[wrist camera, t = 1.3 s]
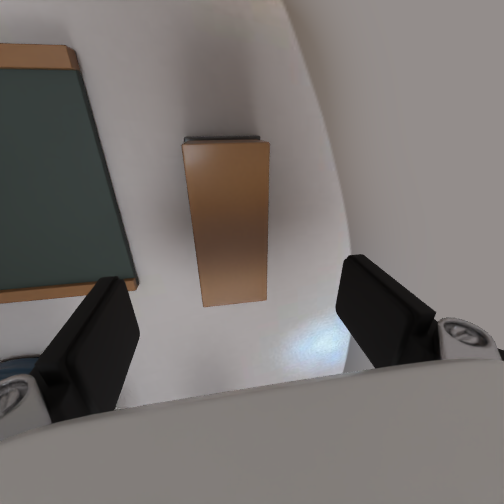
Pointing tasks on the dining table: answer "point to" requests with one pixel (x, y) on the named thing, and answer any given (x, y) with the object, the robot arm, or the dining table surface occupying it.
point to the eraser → (229, 215)
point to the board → (53, 182)
